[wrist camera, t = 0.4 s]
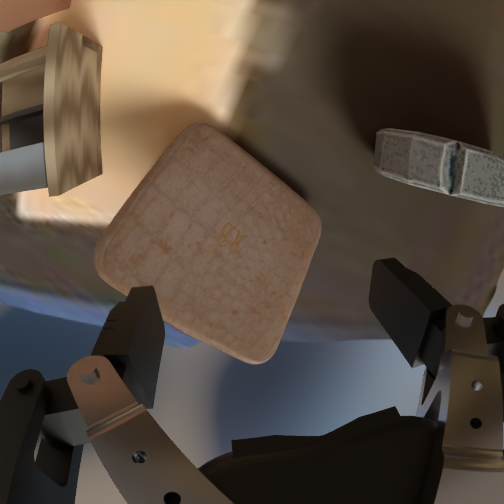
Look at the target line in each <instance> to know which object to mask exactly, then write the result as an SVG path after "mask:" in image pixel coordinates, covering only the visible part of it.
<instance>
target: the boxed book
mask: <svg viewBox="0 0 504 504" xmlns="http://www.w3.org/2000/svg"><path fill="white" fill-rule="evenodd" d="M70 2H71V0H0V31H1V32H4V33H7V32H9V31H11V30H13V29H16V28H18V27H20V26H22V25H25V24H27V23H29V22H32V21H34V20H37V19H39V18H42V17H44V16H47V15H50V14H53V13H56V12H58V11H61V10H64V9H67V8H70Z"/></svg>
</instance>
